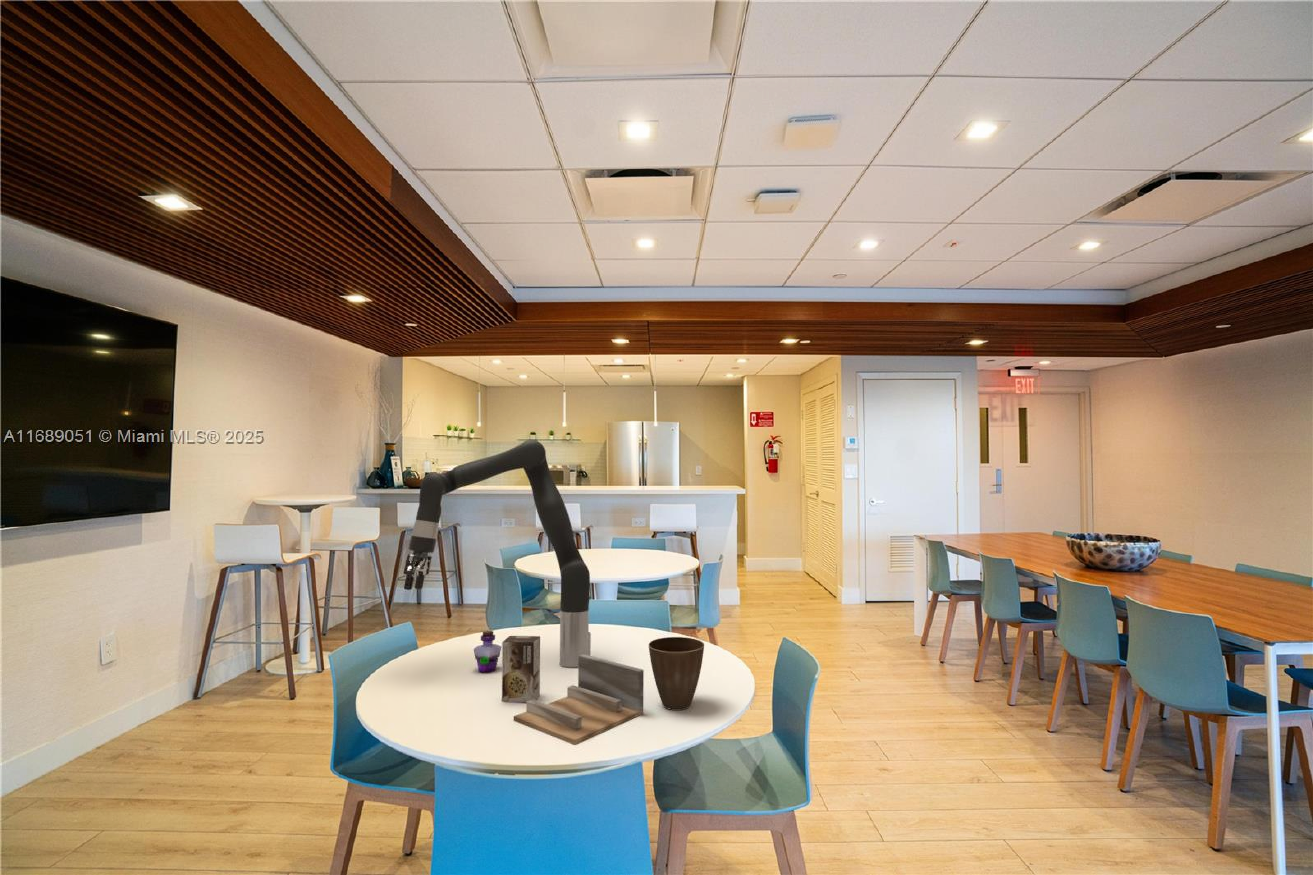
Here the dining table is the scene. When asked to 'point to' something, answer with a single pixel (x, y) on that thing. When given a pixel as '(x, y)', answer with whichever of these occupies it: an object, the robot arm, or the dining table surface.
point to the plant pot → (676, 669)
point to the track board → (588, 720)
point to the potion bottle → (487, 653)
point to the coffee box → (520, 668)
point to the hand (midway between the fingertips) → (413, 589)
